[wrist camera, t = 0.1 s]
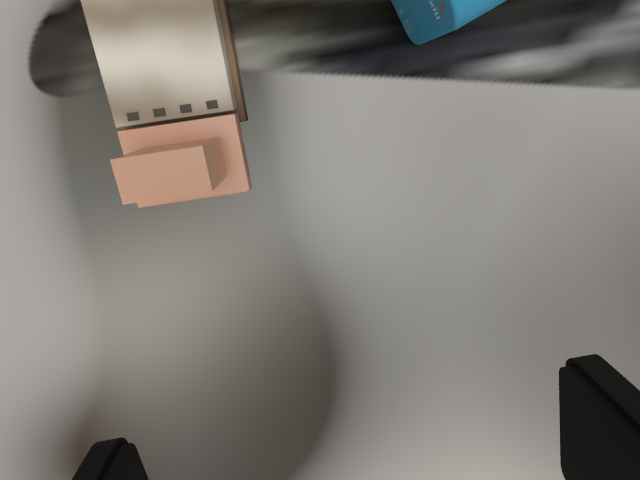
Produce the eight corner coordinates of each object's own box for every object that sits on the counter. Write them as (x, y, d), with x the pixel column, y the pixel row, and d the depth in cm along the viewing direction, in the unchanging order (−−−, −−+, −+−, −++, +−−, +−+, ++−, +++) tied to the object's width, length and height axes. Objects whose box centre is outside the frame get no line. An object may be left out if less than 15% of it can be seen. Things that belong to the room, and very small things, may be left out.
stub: (125, 129, 36) (79, 139, 28) (237, 113, 36) (220, 118, 28) (145, 202, 38) (107, 229, 30) (251, 187, 37) (239, 210, 30)
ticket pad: (60, -119, 32) (30, -145, 28) (199, -141, 32) (186, -169, 28) (130, 137, 38) (112, 142, 34) (248, 119, 37) (242, 122, 34)
